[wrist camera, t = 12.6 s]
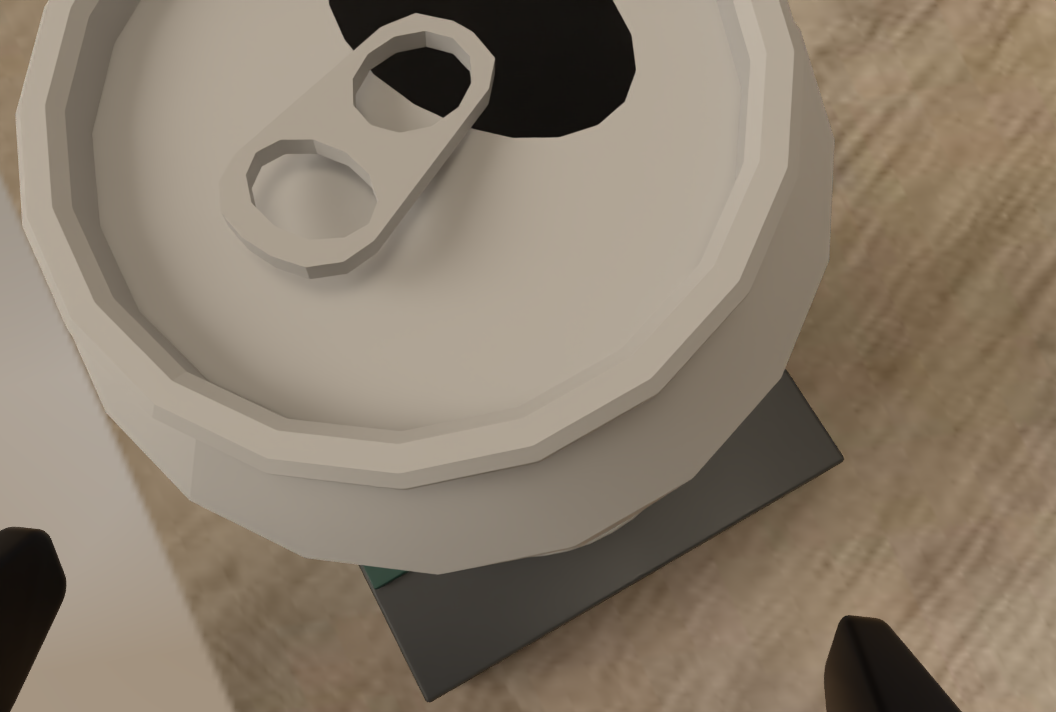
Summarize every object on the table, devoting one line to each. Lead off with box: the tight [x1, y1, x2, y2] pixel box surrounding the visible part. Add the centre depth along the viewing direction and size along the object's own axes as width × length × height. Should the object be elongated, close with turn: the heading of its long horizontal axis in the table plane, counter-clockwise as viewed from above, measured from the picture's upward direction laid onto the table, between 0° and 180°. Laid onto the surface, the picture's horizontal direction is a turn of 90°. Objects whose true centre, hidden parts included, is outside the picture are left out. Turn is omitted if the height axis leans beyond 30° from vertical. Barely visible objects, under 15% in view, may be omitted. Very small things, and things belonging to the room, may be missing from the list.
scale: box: [359, 369, 844, 702], centre depth 19 cm, size 10×10×3 cm
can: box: [16, 0, 835, 575], centre depth 12 cm, size 8×8×12 cm
